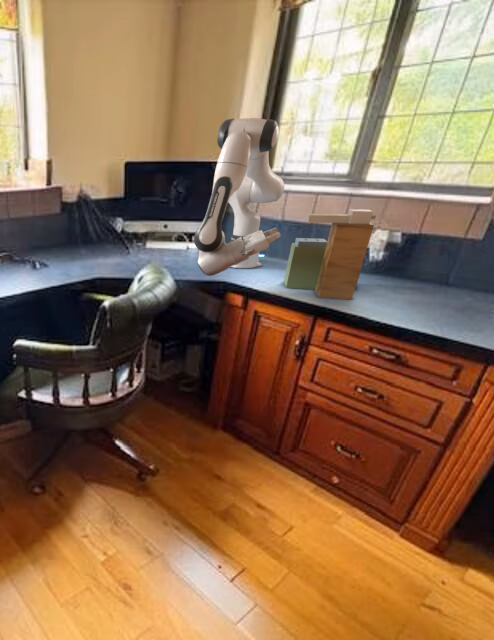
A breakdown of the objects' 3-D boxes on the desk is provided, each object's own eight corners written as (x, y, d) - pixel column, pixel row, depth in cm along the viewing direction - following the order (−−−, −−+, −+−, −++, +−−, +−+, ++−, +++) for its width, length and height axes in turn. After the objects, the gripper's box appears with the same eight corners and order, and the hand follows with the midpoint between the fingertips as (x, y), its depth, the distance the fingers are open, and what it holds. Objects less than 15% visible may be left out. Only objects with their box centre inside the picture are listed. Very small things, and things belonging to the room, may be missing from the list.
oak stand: (314, 291, 163) (332, 220, 151) (346, 293, 161) (367, 221, 148) (318, 297, 157) (337, 224, 144) (351, 299, 154) (374, 224, 141)
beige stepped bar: (306, 220, 152) (308, 209, 150) (370, 221, 147) (374, 209, 145) (308, 223, 148) (311, 210, 146) (374, 224, 142) (378, 211, 141)
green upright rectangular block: (283, 282, 175) (293, 237, 166) (315, 284, 172) (326, 238, 163) (286, 287, 169) (296, 241, 160) (318, 289, 165) (331, 242, 157)
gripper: (238, 247, 151) (278, 228, 144) (236, 237, 168) (272, 219, 161) (245, 263, 152) (285, 244, 146) (242, 252, 170) (278, 234, 163)
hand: (278, 231), depth 154 cm, fingers open, 8 cm apart
